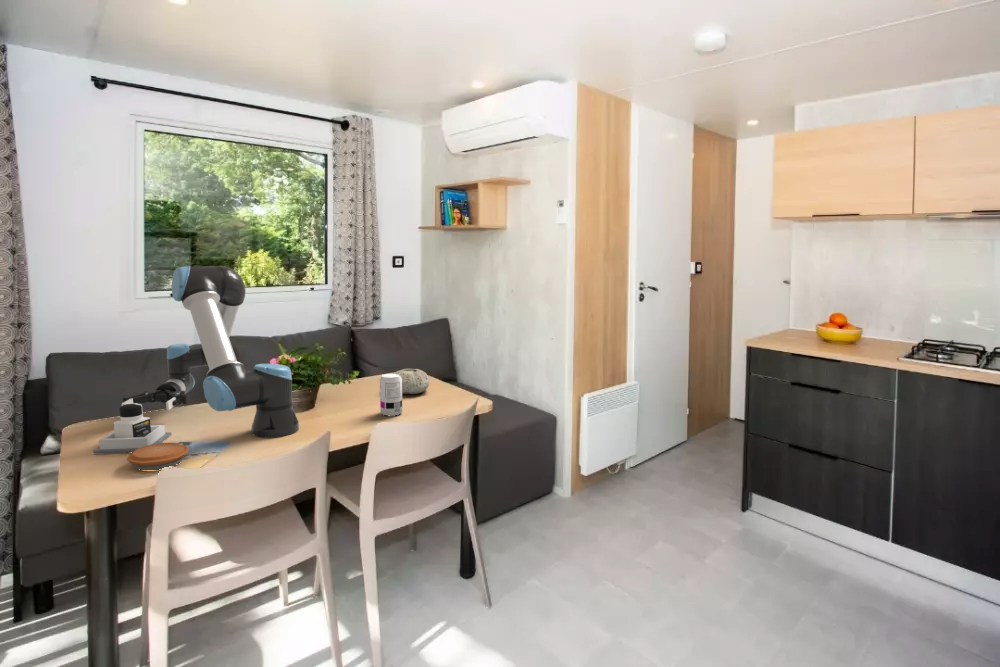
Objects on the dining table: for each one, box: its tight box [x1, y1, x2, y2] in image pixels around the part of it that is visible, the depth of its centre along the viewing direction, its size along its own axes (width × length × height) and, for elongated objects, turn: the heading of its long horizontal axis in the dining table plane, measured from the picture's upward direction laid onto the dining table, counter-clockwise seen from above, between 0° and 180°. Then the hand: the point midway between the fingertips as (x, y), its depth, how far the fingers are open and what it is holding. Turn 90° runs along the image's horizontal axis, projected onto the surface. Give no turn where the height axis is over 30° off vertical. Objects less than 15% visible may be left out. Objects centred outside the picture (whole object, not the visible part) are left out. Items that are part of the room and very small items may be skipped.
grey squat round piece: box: [392, 368, 430, 395], centre depth 251 cm, size 18×18×10 cm
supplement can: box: [379, 373, 403, 417], centre depth 218 cm, size 8×8×15 cm
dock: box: [92, 424, 172, 454], centre depth 182 cm, size 16×16×4 cm
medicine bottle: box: [113, 403, 152, 438], centre depth 181 cm, size 7×7×12 cm
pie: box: [126, 442, 190, 470], centre depth 166 cm, size 15×16×5 cm
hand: (145, 407), depth 190 cm, fingers open, 13 cm apart
